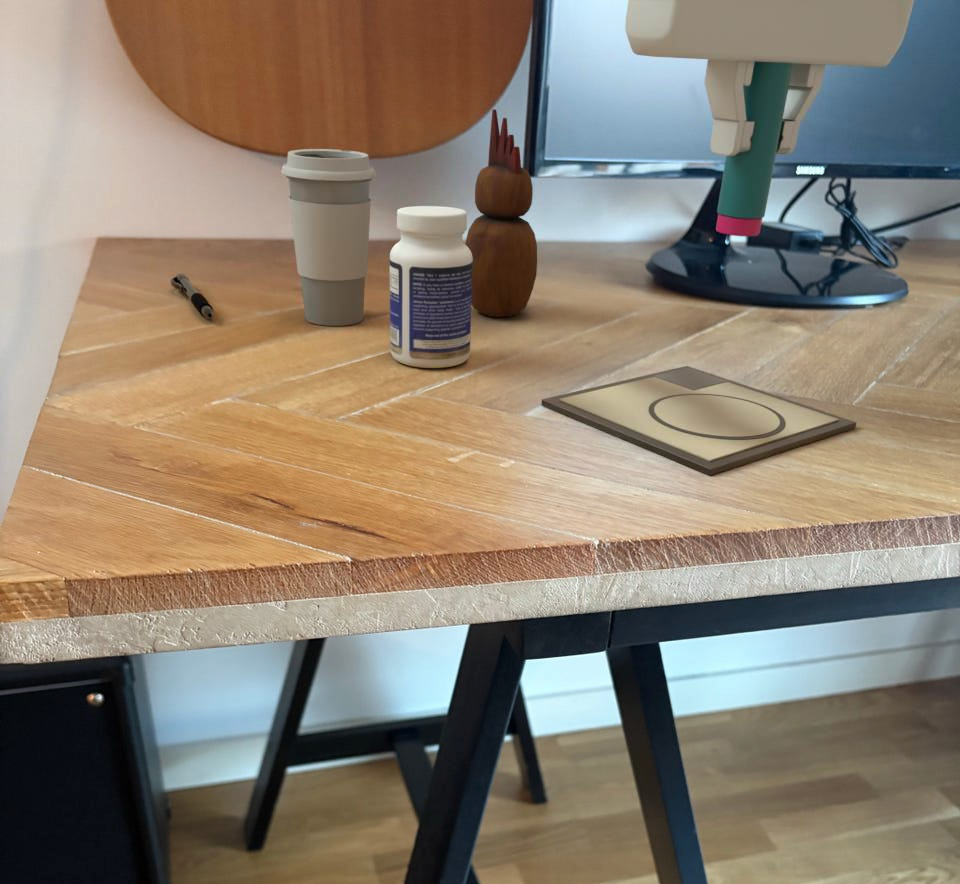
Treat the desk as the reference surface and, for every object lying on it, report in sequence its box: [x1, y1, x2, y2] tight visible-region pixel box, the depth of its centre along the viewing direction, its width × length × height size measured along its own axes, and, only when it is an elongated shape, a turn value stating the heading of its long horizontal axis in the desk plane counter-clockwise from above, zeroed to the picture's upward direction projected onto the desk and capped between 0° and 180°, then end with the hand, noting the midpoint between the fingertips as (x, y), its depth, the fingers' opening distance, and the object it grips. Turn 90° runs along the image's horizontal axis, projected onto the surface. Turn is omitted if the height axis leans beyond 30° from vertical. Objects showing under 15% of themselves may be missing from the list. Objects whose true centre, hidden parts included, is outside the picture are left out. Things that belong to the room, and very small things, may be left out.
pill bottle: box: [389, 205, 473, 369], centre depth 69 cm, size 6×6×10 cm
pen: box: [170, 273, 214, 319], centre depth 82 cm, size 14×2×1 cm, turn 24°
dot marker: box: [715, 61, 793, 237], centre depth 57 cm, size 3×3×12 cm
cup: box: [281, 148, 377, 327], centre depth 77 cm, size 7×7×12 cm
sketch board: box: [540, 365, 857, 476], centre depth 63 cm, size 14×14×1 cm
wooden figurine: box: [464, 109, 538, 318], centre depth 80 cm, size 7×6×15 cm
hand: (752, 154), depth 58 cm, fingers closed on dot marker, 3 cm apart
